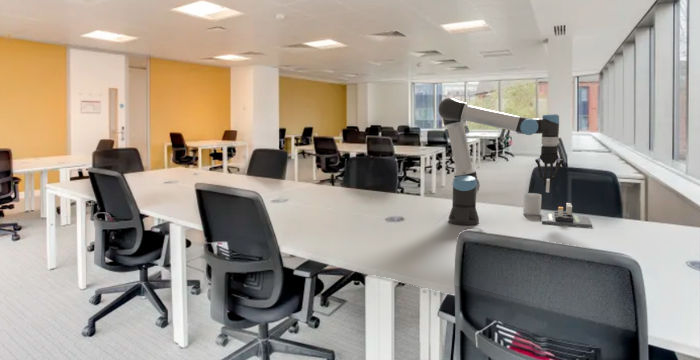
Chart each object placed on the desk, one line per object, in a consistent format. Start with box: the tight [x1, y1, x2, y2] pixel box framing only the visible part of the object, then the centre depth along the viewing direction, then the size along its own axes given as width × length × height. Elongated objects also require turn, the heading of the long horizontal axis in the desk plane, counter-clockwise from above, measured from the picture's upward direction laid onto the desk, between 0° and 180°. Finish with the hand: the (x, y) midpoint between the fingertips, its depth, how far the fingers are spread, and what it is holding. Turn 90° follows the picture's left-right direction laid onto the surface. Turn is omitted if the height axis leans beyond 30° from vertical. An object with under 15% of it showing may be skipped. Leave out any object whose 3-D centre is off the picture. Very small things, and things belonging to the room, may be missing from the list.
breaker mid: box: [567, 204, 573, 215], centre depth 213 cm, size 2×3×4 cm
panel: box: [541, 210, 593, 229], centre depth 213 cm, size 22×18×4 cm
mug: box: [522, 192, 542, 216], centre depth 232 cm, size 12×9×11 cm
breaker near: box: [557, 206, 564, 217], centre depth 209 cm, size 2×3×4 cm
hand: (547, 192), depth 210 cm, fingers closed
